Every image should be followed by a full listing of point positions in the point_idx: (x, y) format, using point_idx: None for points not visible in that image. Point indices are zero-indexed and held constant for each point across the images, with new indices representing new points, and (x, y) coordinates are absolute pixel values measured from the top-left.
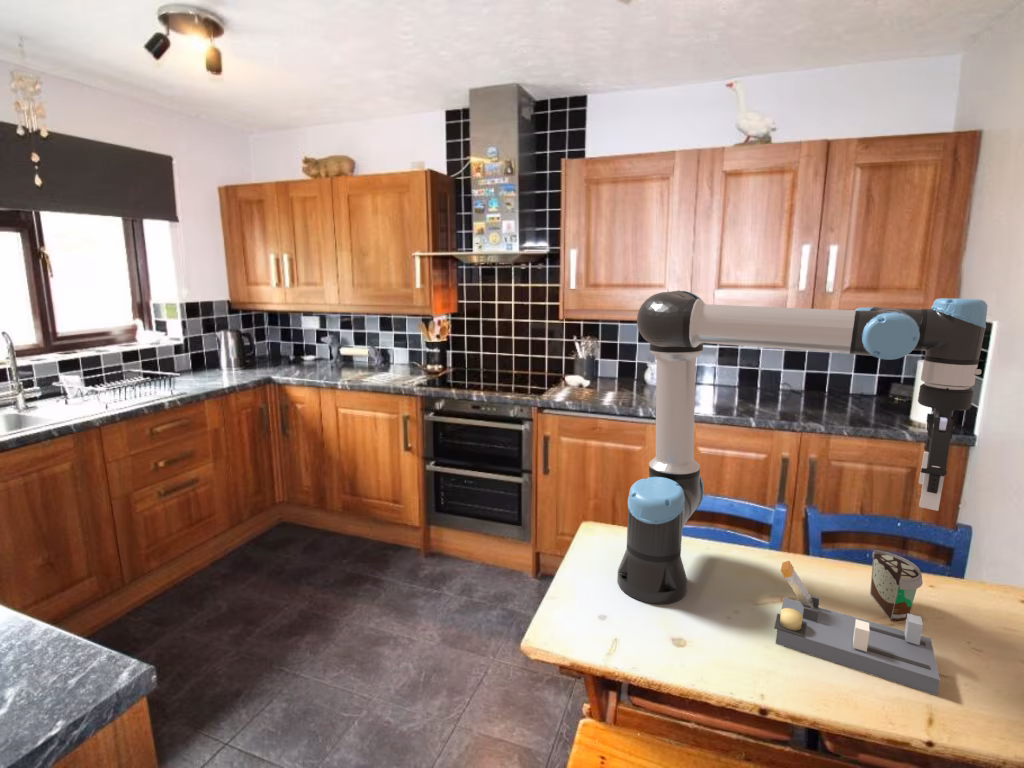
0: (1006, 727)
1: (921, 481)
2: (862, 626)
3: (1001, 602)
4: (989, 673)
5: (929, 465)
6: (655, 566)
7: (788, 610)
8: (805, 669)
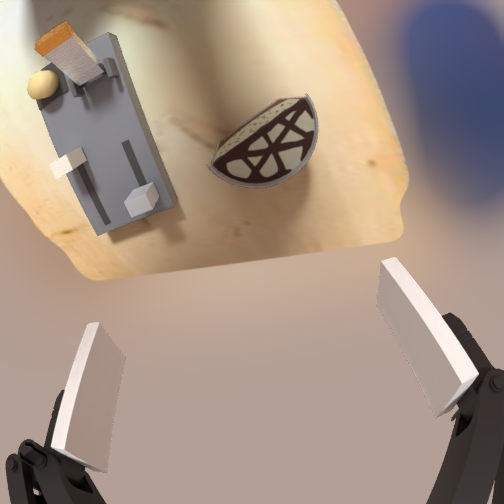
0: (118, 273)
1: (386, 274)
2: (58, 168)
3: (379, 232)
4: (194, 249)
5: (10, 481)
6: None
7: (42, 76)
8: (31, 127)
